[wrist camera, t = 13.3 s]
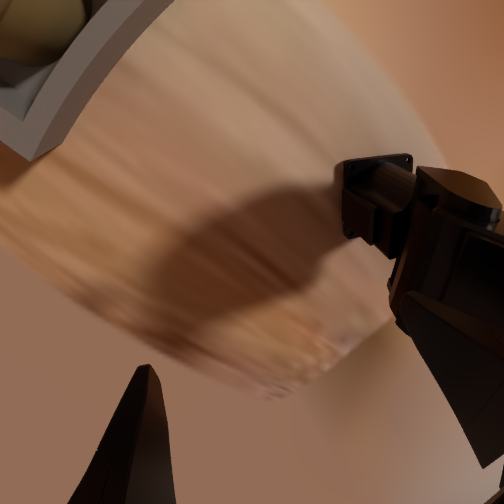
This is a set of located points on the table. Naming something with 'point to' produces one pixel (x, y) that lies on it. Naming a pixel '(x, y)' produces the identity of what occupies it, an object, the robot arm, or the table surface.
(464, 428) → the robot arm
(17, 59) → the cork
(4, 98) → the holder block
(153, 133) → the table surface
